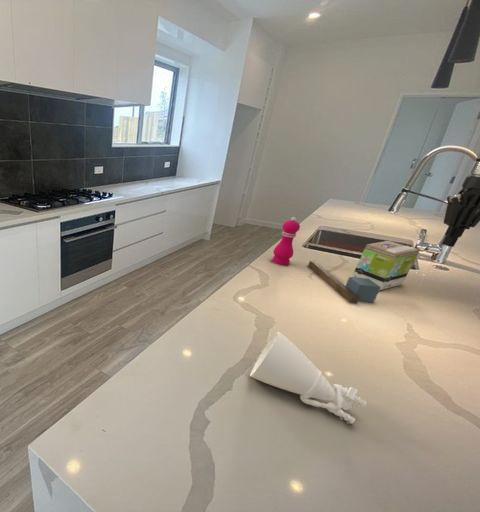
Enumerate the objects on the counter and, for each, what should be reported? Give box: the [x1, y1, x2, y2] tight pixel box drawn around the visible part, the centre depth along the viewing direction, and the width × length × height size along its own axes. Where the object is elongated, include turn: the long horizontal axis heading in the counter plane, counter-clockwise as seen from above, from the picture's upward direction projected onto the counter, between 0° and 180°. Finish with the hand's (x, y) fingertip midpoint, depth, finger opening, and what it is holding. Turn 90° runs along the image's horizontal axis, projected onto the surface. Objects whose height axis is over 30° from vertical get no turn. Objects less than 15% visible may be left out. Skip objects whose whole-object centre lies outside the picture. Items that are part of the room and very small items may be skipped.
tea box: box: [351, 240, 420, 291], centre depth 110 cm, size 15×10×15 cm
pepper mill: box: [271, 216, 301, 266], centre depth 124 cm, size 7×7×20 cm
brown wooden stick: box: [307, 260, 360, 305], centre depth 111 cm, size 30×2×2 cm, turn 169°
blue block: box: [345, 276, 380, 304], centre depth 101 cm, size 6×6×6 cm
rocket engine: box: [249, 331, 368, 424], centre depth 61 cm, size 12×12×18 cm
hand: (447, 245), depth 104 cm, fingers closed
